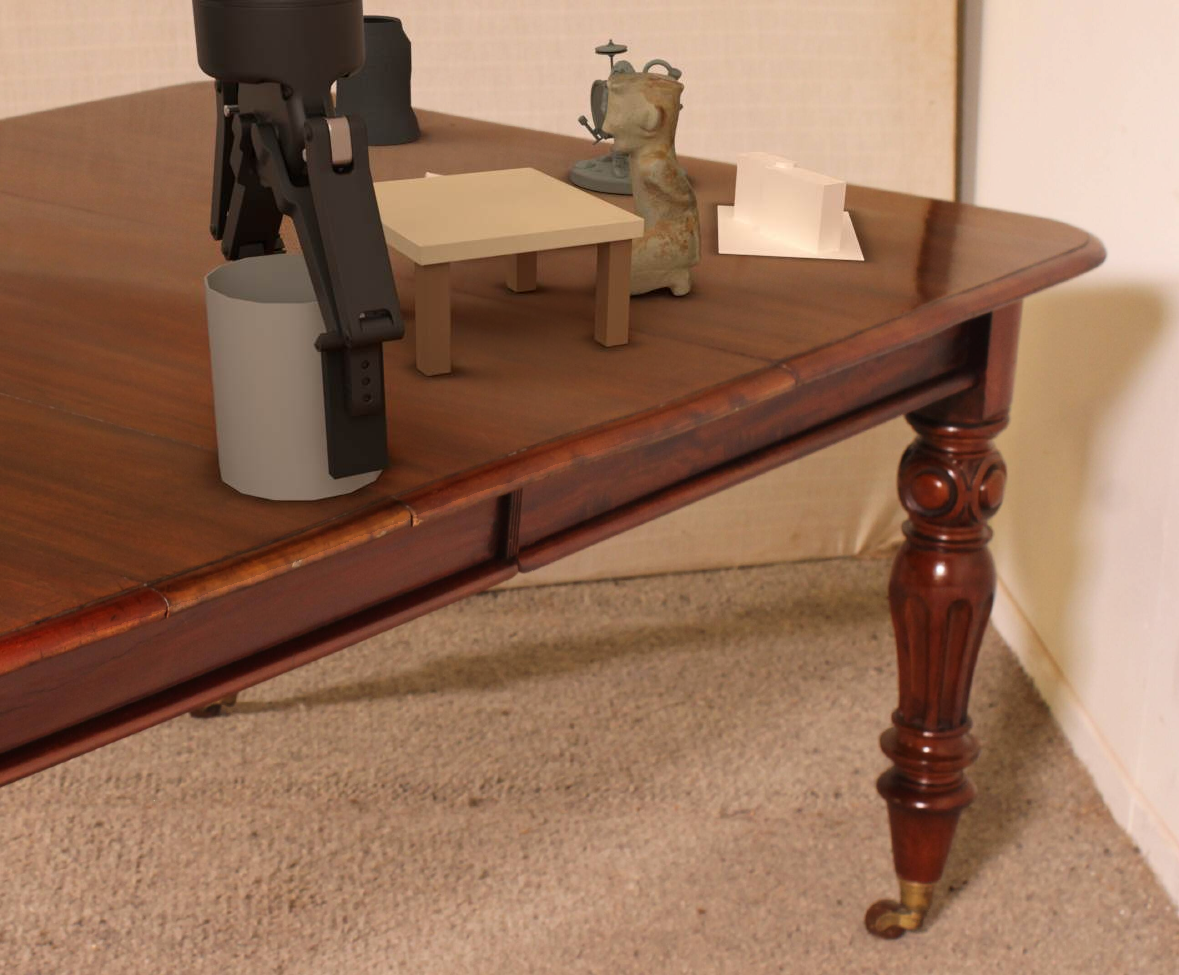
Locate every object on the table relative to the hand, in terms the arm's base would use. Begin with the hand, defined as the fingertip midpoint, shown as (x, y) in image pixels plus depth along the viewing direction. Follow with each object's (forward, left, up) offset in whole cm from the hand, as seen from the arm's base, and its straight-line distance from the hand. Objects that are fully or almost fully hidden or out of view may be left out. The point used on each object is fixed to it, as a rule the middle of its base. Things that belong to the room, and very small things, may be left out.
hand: (308, 423), depth 76 cm
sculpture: (+32, +18, -3) cm, 37 cm away
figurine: (+48, +47, -3) cm, 67 cm away
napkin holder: (+51, +27, -3) cm, 58 cm away
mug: (+33, +74, -3) cm, 81 cm away
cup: (0, 0, -3) cm, 3 cm away
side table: (+18, +16, -2) cm, 24 cm away
